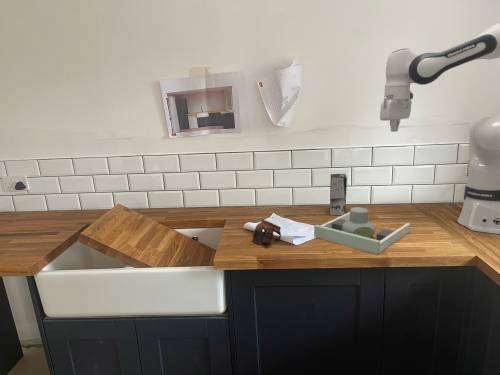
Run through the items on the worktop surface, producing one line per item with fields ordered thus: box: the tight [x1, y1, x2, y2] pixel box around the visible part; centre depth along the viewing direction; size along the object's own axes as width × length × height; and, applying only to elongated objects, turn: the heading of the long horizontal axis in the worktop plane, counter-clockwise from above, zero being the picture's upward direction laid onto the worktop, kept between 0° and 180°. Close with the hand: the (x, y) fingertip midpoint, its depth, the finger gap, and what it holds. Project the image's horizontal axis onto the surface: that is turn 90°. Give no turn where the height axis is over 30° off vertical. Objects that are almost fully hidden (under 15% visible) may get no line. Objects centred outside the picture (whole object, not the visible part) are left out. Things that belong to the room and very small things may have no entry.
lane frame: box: [313, 211, 411, 255], centre depth 122 cm, size 23×26×4 cm
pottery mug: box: [252, 219, 282, 245], centre depth 118 cm, size 12×10×8 cm
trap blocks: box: [332, 219, 395, 241], centre depth 122 cm, size 21×6×2 cm, turn 46°
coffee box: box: [329, 173, 348, 216], centre depth 146 cm, size 9×6×16 cm
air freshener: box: [342, 206, 376, 238], centre depth 119 cm, size 11×8×10 cm
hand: (394, 131), depth 134 cm, fingers closed
